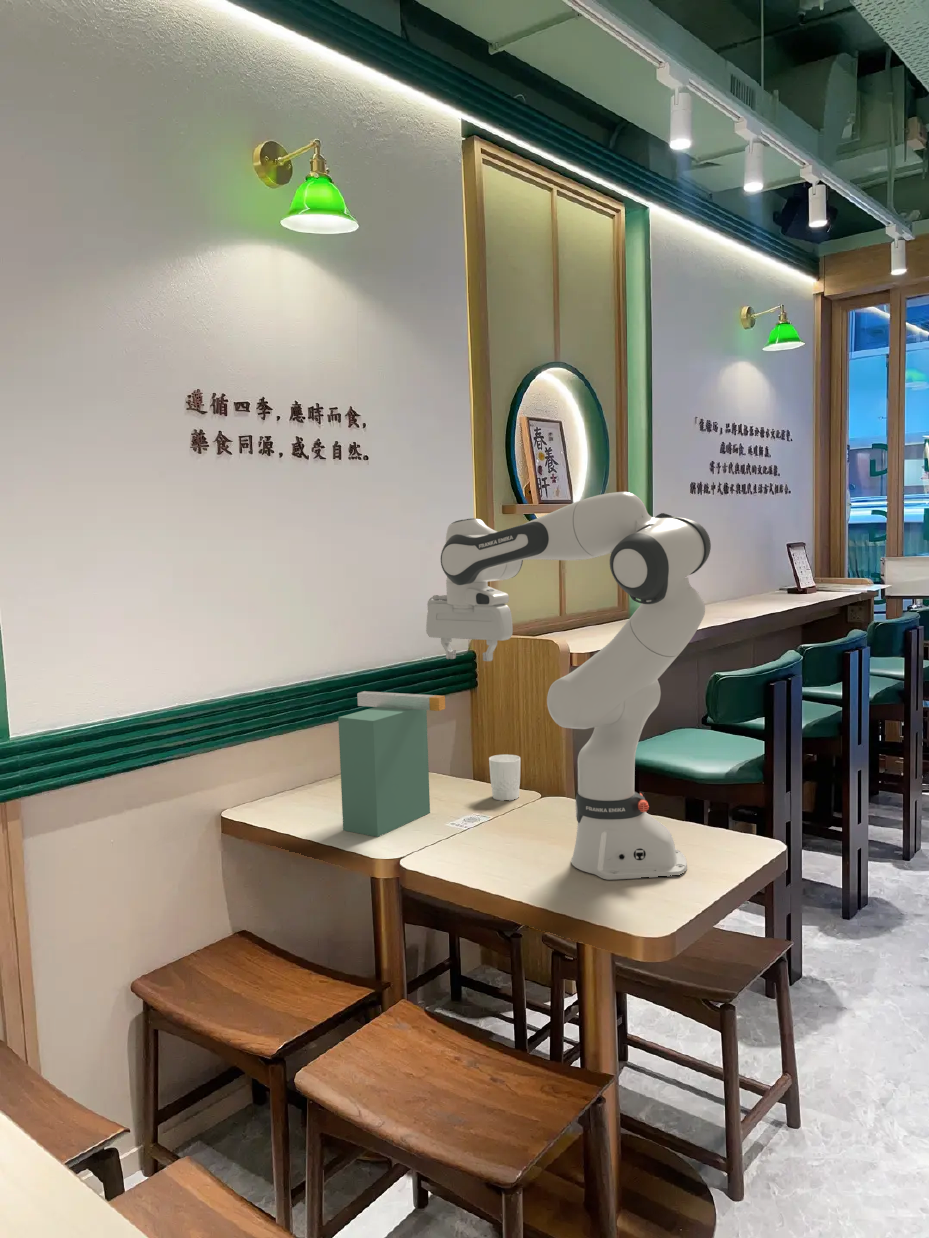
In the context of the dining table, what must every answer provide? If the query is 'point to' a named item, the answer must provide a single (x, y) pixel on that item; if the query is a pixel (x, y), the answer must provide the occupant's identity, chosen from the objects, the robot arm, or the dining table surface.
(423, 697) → the lever bar
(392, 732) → the green box
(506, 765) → the white cup
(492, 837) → the dining table surface
